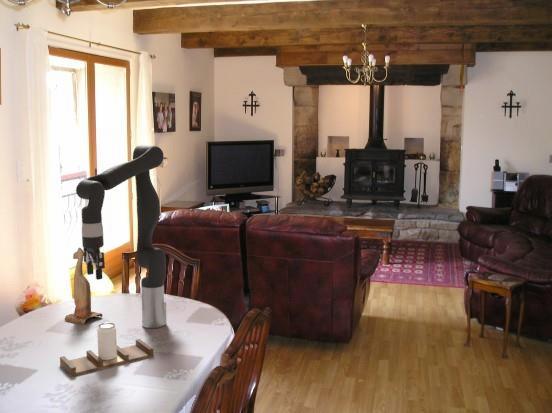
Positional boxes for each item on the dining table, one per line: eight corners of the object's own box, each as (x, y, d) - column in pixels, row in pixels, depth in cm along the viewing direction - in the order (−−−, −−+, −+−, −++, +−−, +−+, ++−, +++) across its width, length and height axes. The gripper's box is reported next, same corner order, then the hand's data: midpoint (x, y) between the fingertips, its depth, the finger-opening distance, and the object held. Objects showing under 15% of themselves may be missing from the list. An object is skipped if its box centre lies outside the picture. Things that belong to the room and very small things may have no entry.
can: (100, 354, 223) (99, 322, 221) (118, 353, 224) (117, 322, 222) (96, 361, 217) (95, 328, 215) (115, 360, 217) (114, 328, 216)
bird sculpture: (82, 314, 272) (77, 243, 267) (103, 317, 267) (98, 245, 262) (64, 322, 262) (58, 248, 257) (85, 325, 257) (80, 250, 252)
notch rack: (139, 346, 234) (139, 338, 234) (153, 356, 225) (153, 348, 224) (60, 365, 216) (59, 357, 216) (71, 376, 207) (71, 368, 206)
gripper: (110, 236, 224) (112, 279, 226) (94, 230, 235) (96, 271, 238) (90, 238, 219) (92, 282, 222) (75, 232, 230) (77, 274, 233)
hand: (94, 276), depth 230 cm, fingers open, 8 cm apart
